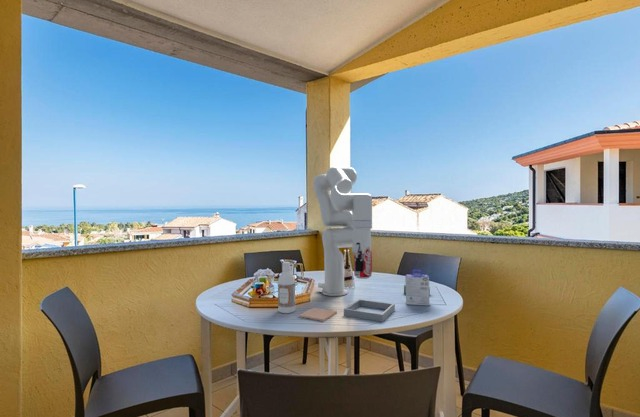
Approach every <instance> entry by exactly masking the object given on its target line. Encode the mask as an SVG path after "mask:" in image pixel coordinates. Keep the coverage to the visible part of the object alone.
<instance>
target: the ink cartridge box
mask: <svg viewBox="0 0 640 417" xmlns="http://www.w3.org/2000/svg"><path fill="white" fill-rule="evenodd" d="M405 285H406V294H405V305H409V306H410V305H412V306H413V305H414V306H430V295H429V287H430V276H429V274H422V269H412V274H405Z"/></svg>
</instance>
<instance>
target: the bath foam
mask: <svg viewBox="0 0 640 417" xmlns="http://www.w3.org/2000/svg"><path fill="white" fill-rule="evenodd" d="M277 289H278V290H277V300H278V301H277V306H278V308H277V309H278V310H277V311H278V312H279V313H281V314H291V313H292V314H293V313H295V311H296V280H295V277H294V275H293V273H292V272H291V262H290V261H283V262H282V272H281V273H280V275H279V277H278V280H277Z"/></svg>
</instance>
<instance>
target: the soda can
mask: <svg viewBox="0 0 640 417" xmlns="http://www.w3.org/2000/svg"><path fill="white" fill-rule="evenodd" d="M358 253H361V251H359V252H358ZM372 254H373V252H372V249H371V250H370V247H369V248H367V250H366V252H365V254H363V264H364V271H363V272H361V271H355V255H354V254H353V274H354V276H355V277H356V278H357V279H360V280H361V279H362V280H364V279H365V280H367V279H369V278H371V277H372V274H373V256H372ZM360 257H361V255H360Z"/></svg>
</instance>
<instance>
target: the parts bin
mask: <svg viewBox="0 0 640 417" xmlns="http://www.w3.org/2000/svg"><path fill="white" fill-rule="evenodd" d="M359 307H366V308H367V307H368V308H374V309H380V310H384V311H383V312H381V313H379V312H370V311H365V310H364V311H363V310H357V309H358V308H359ZM395 307H396V305H395V303H392V302H382V301H374V300H367V299H357V300H356V301H354V302H353V303H351V304H350V305H348V306H347V307H345V308H344V309H343V316H345V317H351V318H357V319H365V320H370V321H371V320H372V321H377V322H381V323H382V322H385V320H386V319H387V318H388V317H389V316H390V315H392V313H393V312H395V310H396V308H395Z"/></svg>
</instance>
